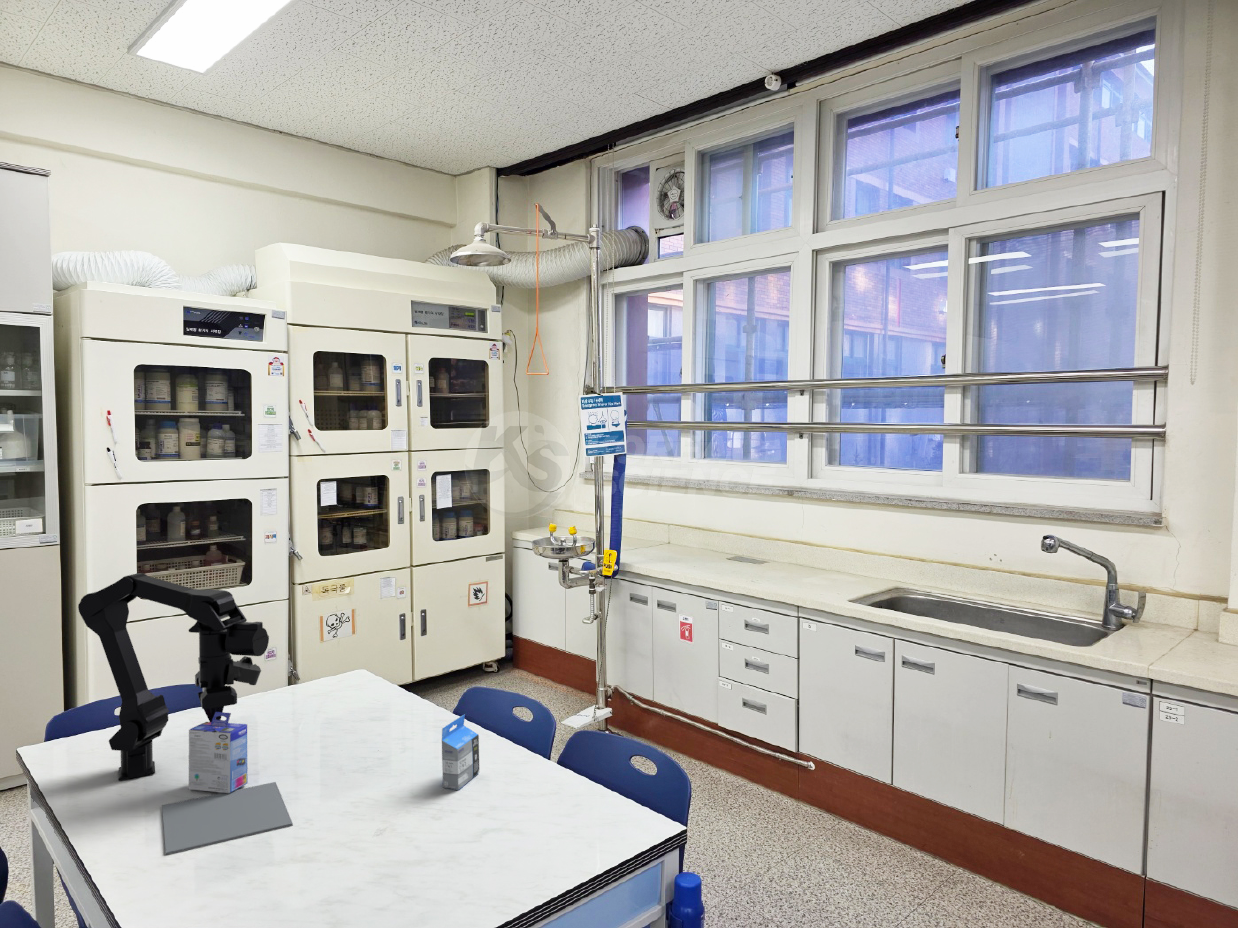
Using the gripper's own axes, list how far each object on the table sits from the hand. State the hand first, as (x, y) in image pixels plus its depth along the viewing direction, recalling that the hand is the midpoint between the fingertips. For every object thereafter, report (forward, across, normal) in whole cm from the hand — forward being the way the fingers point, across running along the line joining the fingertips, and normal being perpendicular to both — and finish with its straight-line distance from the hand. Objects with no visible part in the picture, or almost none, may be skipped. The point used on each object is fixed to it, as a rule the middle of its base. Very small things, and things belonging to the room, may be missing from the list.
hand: (215, 727), depth 163 cm
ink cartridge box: (+10, -6, 0) cm, 12 cm away
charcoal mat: (+10, -20, 0) cm, 22 cm away
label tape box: (+10, -28, -43) cm, 52 cm away
